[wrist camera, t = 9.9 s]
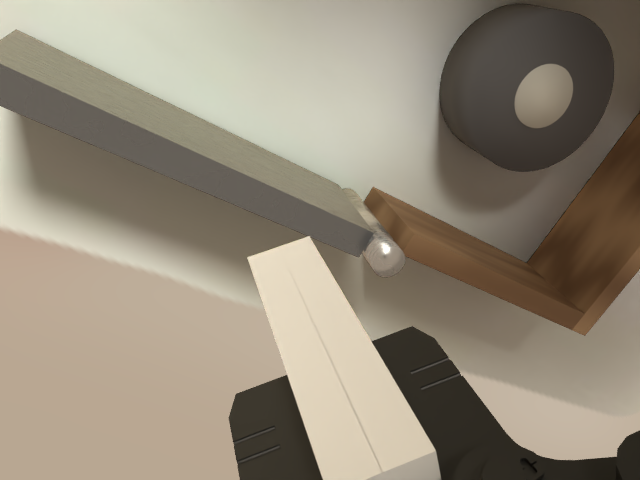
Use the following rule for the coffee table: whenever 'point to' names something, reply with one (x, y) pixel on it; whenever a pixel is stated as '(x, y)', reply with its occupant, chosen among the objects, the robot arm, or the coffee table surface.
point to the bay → (543, 245)
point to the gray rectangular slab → (186, 149)
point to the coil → (527, 85)
